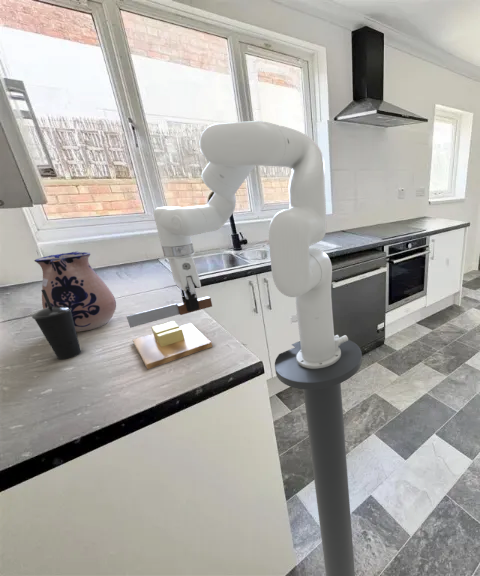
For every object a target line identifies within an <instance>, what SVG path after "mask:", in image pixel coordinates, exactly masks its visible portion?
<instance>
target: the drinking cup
mask: <svg viewBox="0 0 480 576" xmlns="http://www.w3.org/2000/svg"><path fill="white" fill-rule="evenodd" d="M42 293H43V296H44V298H45V301H46V303H47V305H48V308H45V309H43V308H42V309H40V310H39V311H37V312H35V313H33V314H32V315H31V318H32V319H33V320H34V321H35V322H36V324H37V326H38V327H39V329H40V331H41V332H42V335H43V336H44V338H45V339H46V341H47V342H48V344H49V346H50V347H51V349H52V351H53V353H54V354H55V357H56V358H57V359H58V360H66V359H67V360H68V359H71V358H74V357H76V356H79V355H80V354H81V353H82V350H81V346H80V342H79V337H78V334H77V333H78V332H76V329H75V325H74V321H73V317H72V313H71V310H72V308H71V307H68V306H53V307H52V306H51V303H50V301H49V298H48V296H47V294H46V291H45V290H42V289H41V294H42Z"/></svg>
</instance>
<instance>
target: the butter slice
mask: <svg viewBox="0 0 480 576" xmlns="http://www.w3.org/2000/svg"><path fill="white" fill-rule="evenodd" d="M157 337H158V340H159V344H160V346H161V347H163V346H166V345H170V344H173V343H176V342H179V341H182V340H185V339H184V335H183V331H182V329H181V328H177V329H173V330H170V331H167V332H163V333H160V334H157Z"/></svg>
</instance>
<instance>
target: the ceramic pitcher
mask: <svg viewBox="0 0 480 576" xmlns="http://www.w3.org/2000/svg"><path fill="white" fill-rule="evenodd" d="M90 256H91V252H83V251H81V252H80V251H78V250H76V251H71V252H64V253H59V254H51V255H47V256H42V257H38V258H35V259H34V260H33V261H34V262H35V263H36V264H38V265H39V266H40V267H41V268H40V269H41V270H42V271H41V272H42V284H41V287H42V288H41V290H45V291H46V294H47V296H48V298H49V301H50V303H51V306H52V307H53V306H68V307H71V308H72V310H71V313H72V317H73V321H74V325H75V329H76V333H78V332H85V331H91V330H95V329H98V328H100V327H103V326H105V325H106V324H107V323H109V321H111V319H112V318H113V316H114V314H115V312H116V309H117V301H116V298H115V296H114V294H113V292H112V291H111V289H110V288H109V286H108V285H107V284H106V283H105V281H104V280H103V279H102V278H101V277H100V276H99V274H98V273H97V272H96V271H95V270H94V268H93V267H92V265H91V264H90V262H89V258H90ZM41 305H42V309H45V308H48V305H47V303H46V301H45V298H44V296H43V293H42V292H41Z"/></svg>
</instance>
